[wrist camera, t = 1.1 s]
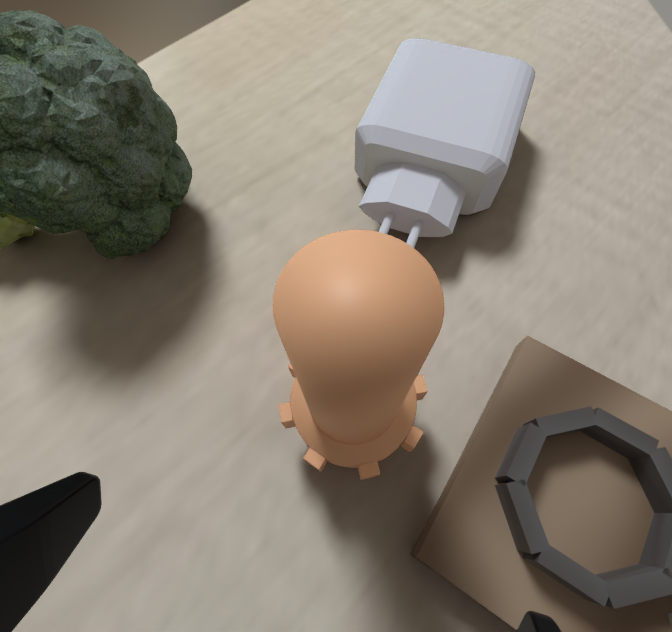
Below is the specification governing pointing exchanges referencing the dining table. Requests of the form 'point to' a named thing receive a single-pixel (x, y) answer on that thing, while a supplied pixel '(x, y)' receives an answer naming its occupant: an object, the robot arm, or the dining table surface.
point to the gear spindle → (356, 345)
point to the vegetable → (83, 139)
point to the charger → (439, 135)
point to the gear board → (561, 501)
